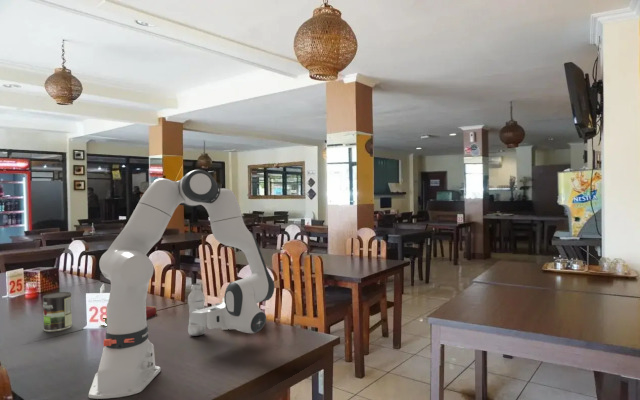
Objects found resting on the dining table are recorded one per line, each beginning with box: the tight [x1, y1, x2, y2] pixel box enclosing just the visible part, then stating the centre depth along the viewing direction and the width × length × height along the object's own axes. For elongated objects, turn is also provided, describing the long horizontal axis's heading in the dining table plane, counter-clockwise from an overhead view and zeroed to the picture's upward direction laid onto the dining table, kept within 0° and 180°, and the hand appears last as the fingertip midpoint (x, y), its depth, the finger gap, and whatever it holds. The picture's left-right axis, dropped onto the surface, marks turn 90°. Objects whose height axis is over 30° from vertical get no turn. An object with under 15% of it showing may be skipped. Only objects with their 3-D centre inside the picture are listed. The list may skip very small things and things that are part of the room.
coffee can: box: [42, 291, 73, 333], centre depth 175 cm, size 10×10×14 cm
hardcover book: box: [103, 305, 158, 324], centre depth 184 cm, size 12×21×4 cm, turn 158°
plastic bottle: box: [187, 282, 207, 337], centre depth 162 cm, size 6×7×20 cm
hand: (206, 308), depth 156 cm, fingers open, 8 cm apart
